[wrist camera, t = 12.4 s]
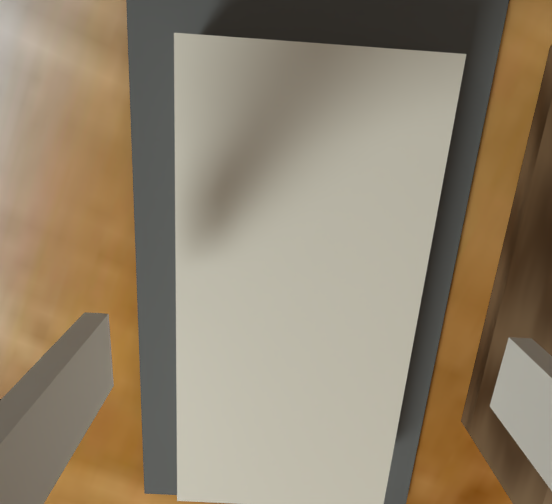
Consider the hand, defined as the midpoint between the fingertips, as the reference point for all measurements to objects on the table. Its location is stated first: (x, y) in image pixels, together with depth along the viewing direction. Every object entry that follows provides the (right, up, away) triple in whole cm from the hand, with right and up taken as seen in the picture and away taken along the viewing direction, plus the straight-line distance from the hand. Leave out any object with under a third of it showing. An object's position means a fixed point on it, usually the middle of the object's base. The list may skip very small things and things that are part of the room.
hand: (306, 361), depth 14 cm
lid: (0, +2, +7) cm, 8 cm away
